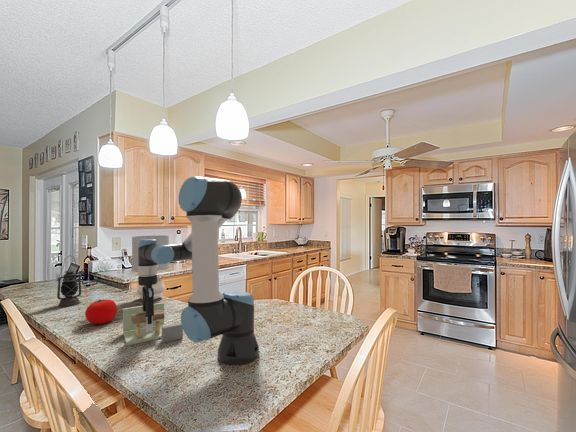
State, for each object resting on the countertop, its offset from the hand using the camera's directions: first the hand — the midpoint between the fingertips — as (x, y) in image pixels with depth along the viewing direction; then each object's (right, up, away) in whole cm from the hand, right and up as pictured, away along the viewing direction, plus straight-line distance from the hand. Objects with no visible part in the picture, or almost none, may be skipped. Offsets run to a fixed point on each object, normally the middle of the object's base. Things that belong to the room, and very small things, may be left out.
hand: (147, 328), depth 126 cm
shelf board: (0, +4, 0) cm, 4 cm away
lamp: (-28, -5, +63) cm, 69 cm away
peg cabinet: (-2, -4, +3) cm, 5 cm away
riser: (+12, -3, -3) cm, 13 cm away
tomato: (-32, -4, +18) cm, 37 cm away
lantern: (-72, -5, +51) cm, 89 cm away
